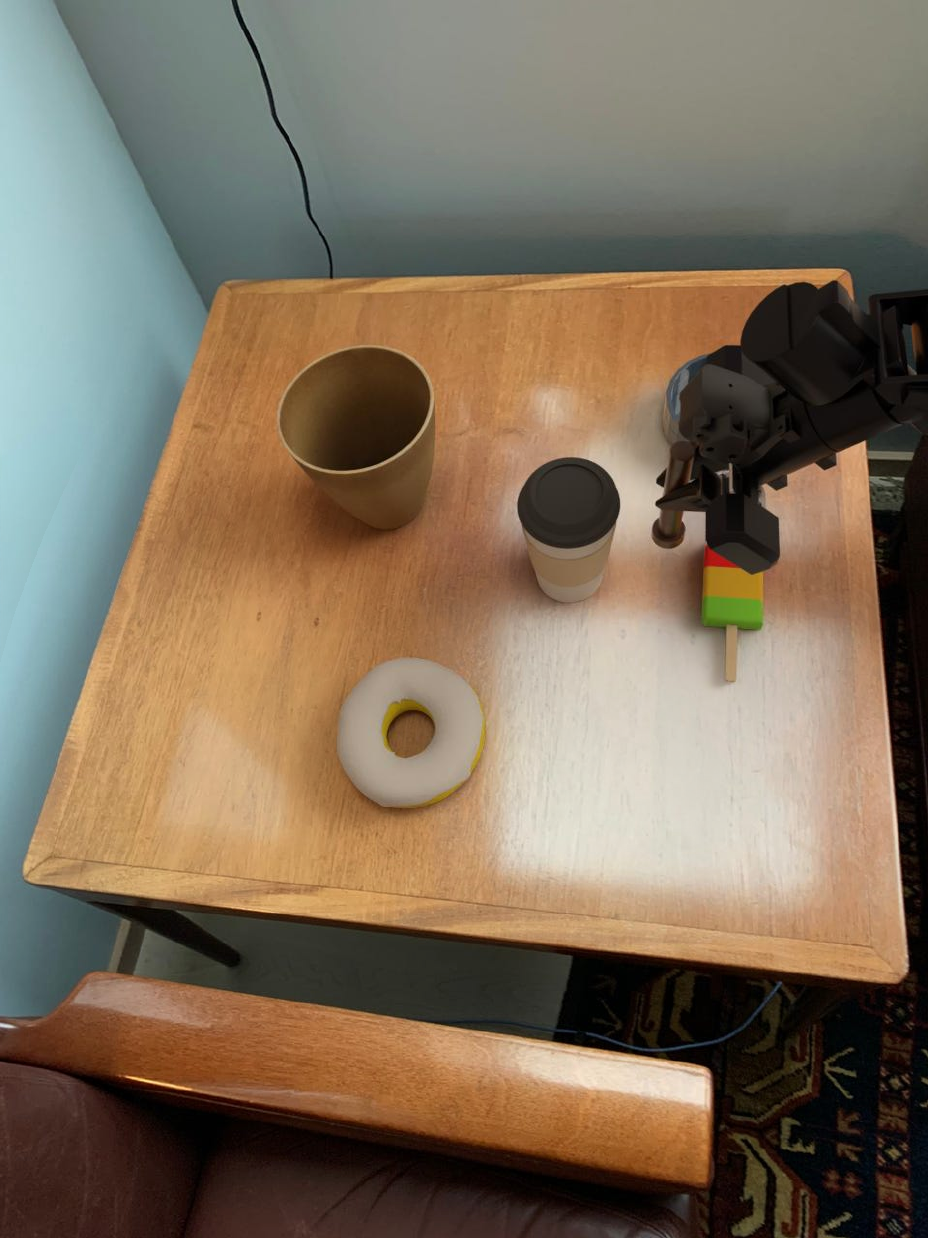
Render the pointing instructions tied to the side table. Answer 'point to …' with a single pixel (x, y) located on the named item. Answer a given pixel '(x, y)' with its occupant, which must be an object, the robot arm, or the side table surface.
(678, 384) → the bowl
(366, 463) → the plant pot
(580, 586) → the coffee cup
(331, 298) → the side table surface
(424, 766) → the donut
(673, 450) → the stirring stick
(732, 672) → the popsicle
